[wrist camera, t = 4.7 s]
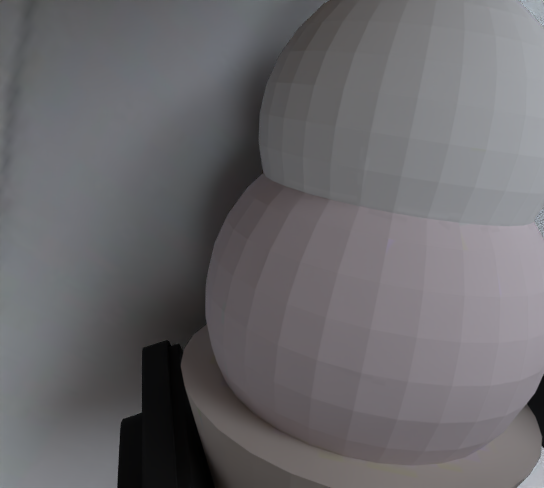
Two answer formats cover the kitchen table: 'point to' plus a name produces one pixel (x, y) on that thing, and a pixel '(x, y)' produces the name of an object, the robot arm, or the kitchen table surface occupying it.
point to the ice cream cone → (383, 259)
